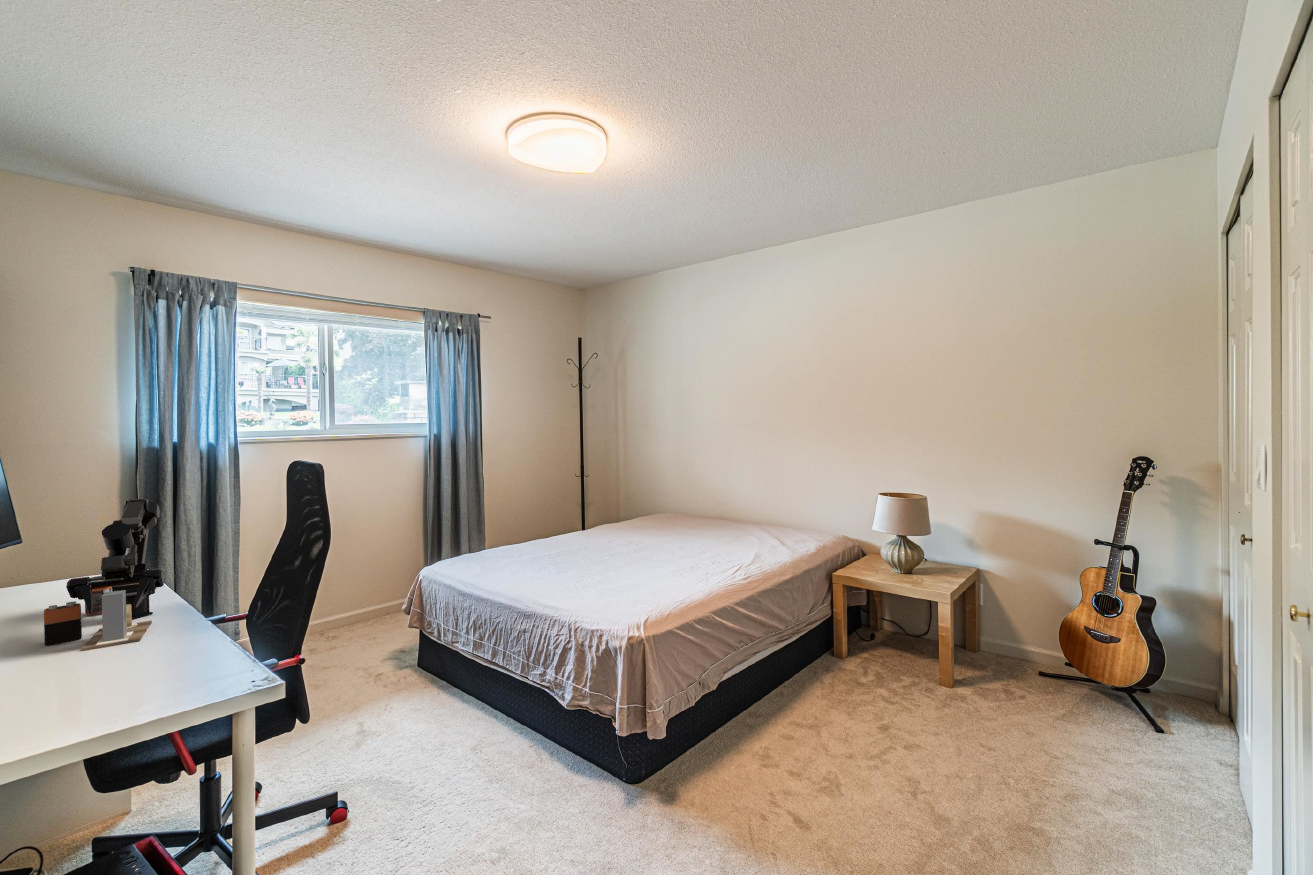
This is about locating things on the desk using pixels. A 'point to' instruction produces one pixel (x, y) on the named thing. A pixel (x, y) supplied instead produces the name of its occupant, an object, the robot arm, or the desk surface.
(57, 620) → the battery
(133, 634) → the board
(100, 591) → the supplement bottle
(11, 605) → the desk surface
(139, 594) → the robot arm
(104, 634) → the leg
